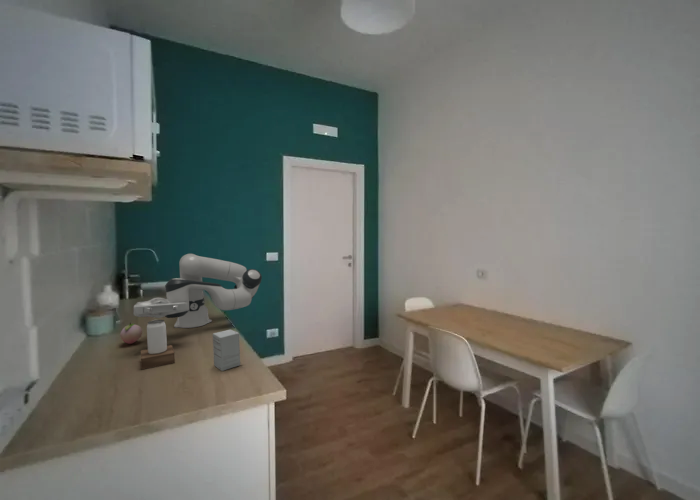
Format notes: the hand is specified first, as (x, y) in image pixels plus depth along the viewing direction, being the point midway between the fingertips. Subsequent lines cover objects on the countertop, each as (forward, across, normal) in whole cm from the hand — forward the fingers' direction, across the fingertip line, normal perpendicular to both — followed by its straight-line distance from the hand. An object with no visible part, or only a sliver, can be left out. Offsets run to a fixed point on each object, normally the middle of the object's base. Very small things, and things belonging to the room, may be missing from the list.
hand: (163, 309), depth 138 cm
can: (+6, +2, -16) cm, 17 cm away
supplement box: (+26, -18, -22) cm, 39 cm away
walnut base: (+5, +2, -20) cm, 21 cm away
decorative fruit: (-26, +10, -16) cm, 32 cm away
